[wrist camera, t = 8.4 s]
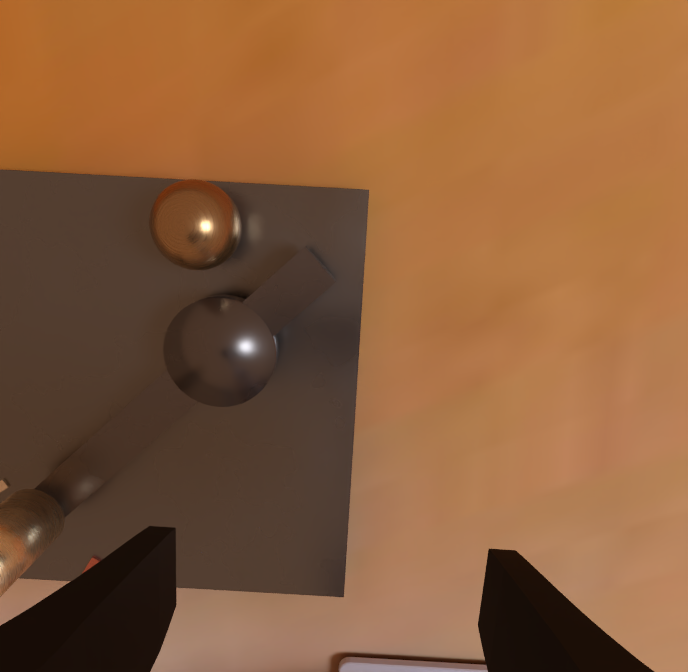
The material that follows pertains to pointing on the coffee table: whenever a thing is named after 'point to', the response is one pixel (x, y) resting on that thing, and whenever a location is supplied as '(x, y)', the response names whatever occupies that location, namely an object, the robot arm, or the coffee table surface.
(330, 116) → the coffee table surface
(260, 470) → the dark grey flat slab
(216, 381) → the lever
